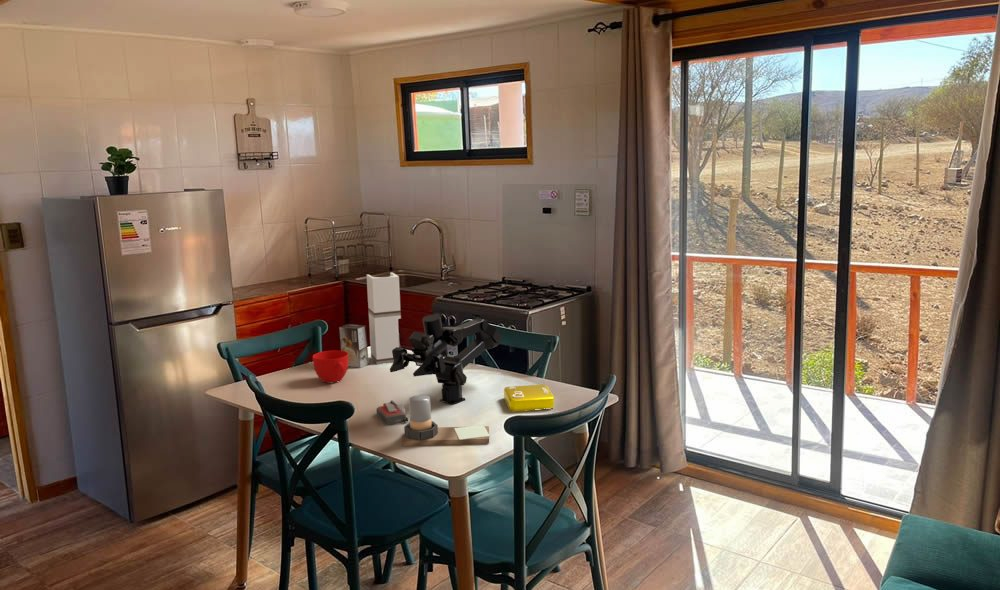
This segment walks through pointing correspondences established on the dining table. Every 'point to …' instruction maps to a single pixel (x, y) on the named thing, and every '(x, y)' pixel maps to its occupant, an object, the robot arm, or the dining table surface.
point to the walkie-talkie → (392, 413)
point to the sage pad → (471, 432)
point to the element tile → (528, 397)
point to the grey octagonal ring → (421, 432)
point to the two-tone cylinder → (420, 413)
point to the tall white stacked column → (383, 316)
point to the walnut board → (445, 438)
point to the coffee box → (354, 344)
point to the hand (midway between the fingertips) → (401, 372)
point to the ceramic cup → (331, 365)
